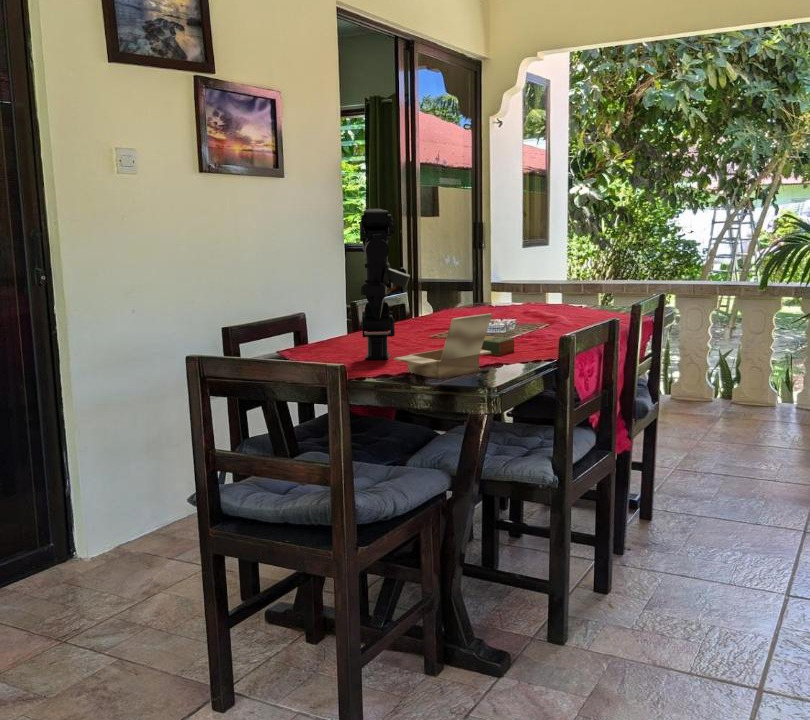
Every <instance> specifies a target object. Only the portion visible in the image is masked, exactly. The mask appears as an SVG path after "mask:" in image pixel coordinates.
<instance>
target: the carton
mask: <svg viewBox="0 0 810 720" xmlns="http://www.w3.org/2000/svg"><path fill="white" fill-rule="evenodd" d="M481 350H487V351H491V353H490V354H489V355H493V354H494V356H503V355H505V353H506V354H509V353H511V351H513V352H514V351H515V339H514V338H507V337H501V336H500V337H499V336H498V337H497V336H493V335H485V338H484V341H483V345H482V348H481ZM508 352H509V353H508Z"/></svg>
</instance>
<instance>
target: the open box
mask: <svg viewBox="0 0 810 720" xmlns="http://www.w3.org/2000/svg"><path fill="white" fill-rule="evenodd" d="M442 352H443V348H440V349H435V350H430V351H429V350H428V351H423V352H418V353H417V352H416V353H411V354H407V355H403V356H397V357H393V361H398V362H402V363H407V366H406V367H407V373H409V372H411V373H410V374H413V373H414V374H413V375H419V376H423V377H428V378H432V379H436V380H441V379H446V378H452V377H457V376H462V375H467V374H472V373H477V372H480V356H483V355H491V354H490V353H491V351H487V350H481V351H480V354H477V355H472V356H466V357H460V358H455V359H449V360H444V361H441V360H440V358H441V355H442Z"/></svg>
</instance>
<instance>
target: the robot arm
mask: <svg viewBox="0 0 810 720" xmlns="http://www.w3.org/2000/svg"><path fill="white" fill-rule="evenodd" d="M360 219H361V220H360V221H359V242H360V243H362V250H363V252H364V253H365V263H364V269H365V280H364V284H362V286H361V288H360V295H361V296H364V297H365V298H366V300H367V302H366V304H365V305H364V315H362V316H361V320H362V321H361V322H362V323H361V324H362V338H367V354H366V355H365V356H364V357H365V358H364V359H365V360H389V358H390V356H391V353H389V349H388V347H389V346H388V339H389V338H392V337H395V334H396V333H395V322H396V321H395V319H394V318H393V314H391V312H390V306H389V304H388V302H386V301H385V298H386V297H387V296H388V295H389V294H390V293H391V291H390V290H388V288H389V289H393V287H394V286H393V285H397V286H399V287H400V288H403V289H404V288H405V289H406V287H407V286H408V283H409V281H410V277H411V274H409V273H407V269H406V268H404V267H400V268H399V269H398V270H397V269H393V268H391V264H390V263H389V260H388V259H389V256H388V255H389V254H390V253H389V252H390V247H389V244H388V242H390V238H391V237H392V235H394V233H395V232H394V218H393V217H392V214H391V213H390V214H389V210H387V209H382V208H367V209H365V210H364V211H363V214H361V215H360ZM388 337H389V338H388Z"/></svg>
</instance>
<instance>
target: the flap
mask: <svg viewBox="0 0 810 720" xmlns="http://www.w3.org/2000/svg"><path fill="white" fill-rule="evenodd" d="M492 316H493V313H489V312H488V313H483V314H482V313H481V314H475V315H474V314H473V315H467V316H462V317H454V318H451V322H450V324H449V325H450V326H449V327H448V328H449V329H448V332H447V335H446V338H445V342H444V346H443V348H442V349H443V352H442V355H441V358H440V360H441V361H444V360H449V359H455V358H460V357H466V356H472V355H477V354H480V351H481V348H482V345H483V341H484V338H485V336H487V332H488V329H489V326H490V323H491V319H492Z"/></svg>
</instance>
